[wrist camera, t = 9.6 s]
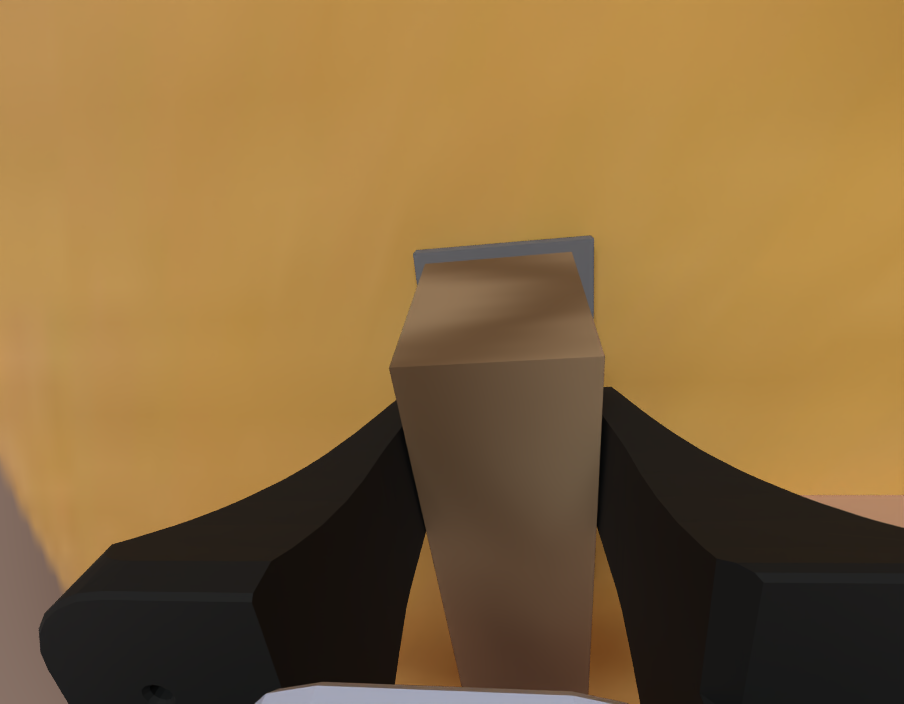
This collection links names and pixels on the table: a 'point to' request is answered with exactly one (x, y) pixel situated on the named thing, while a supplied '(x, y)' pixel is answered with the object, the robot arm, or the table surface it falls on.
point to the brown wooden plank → (507, 461)
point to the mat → (577, 245)
